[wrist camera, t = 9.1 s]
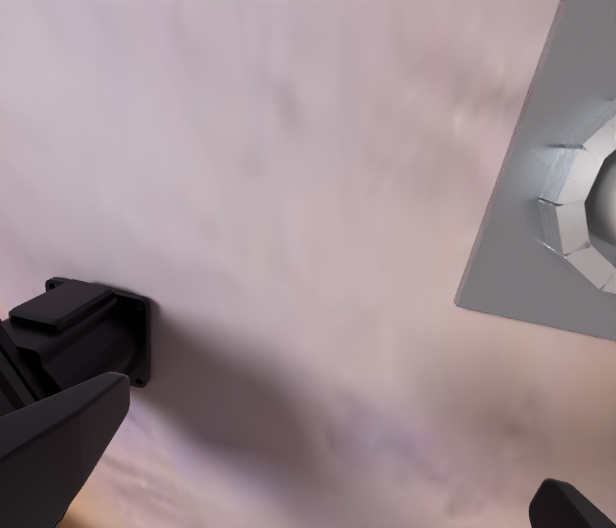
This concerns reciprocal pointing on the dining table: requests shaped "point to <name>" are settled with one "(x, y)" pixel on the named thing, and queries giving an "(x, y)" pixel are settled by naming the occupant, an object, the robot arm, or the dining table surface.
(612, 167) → the cylinder
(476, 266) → the plate
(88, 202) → the dining table surface
